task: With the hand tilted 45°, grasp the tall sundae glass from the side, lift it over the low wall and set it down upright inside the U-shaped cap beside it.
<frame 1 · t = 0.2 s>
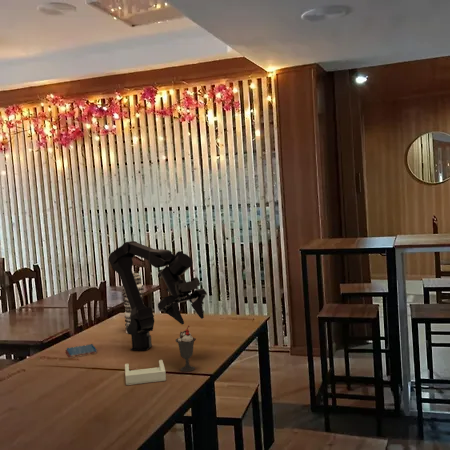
hand: (193, 321, 196), 14 cm above the table, tool tilted 35°, fingers open, 9 cm apart
woven mat: (81, 354, 216), on the table
end cap: (145, 376, 184), on the table
sundae: (187, 369, 189), on the table
decorative candle: (135, 331, 244), on the table
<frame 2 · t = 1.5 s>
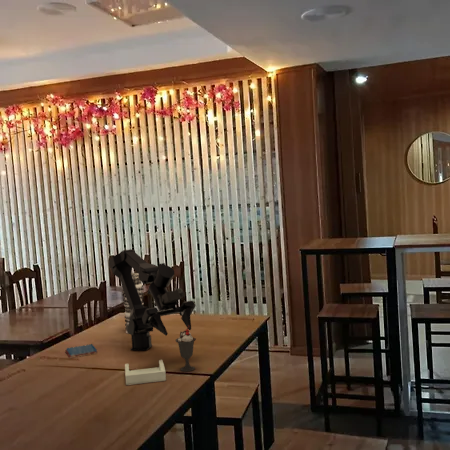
hand: (178, 332, 192), 12 cm above the table, tool tilted 45°, fingers open, 9 cm apart
nothing on the table moved.
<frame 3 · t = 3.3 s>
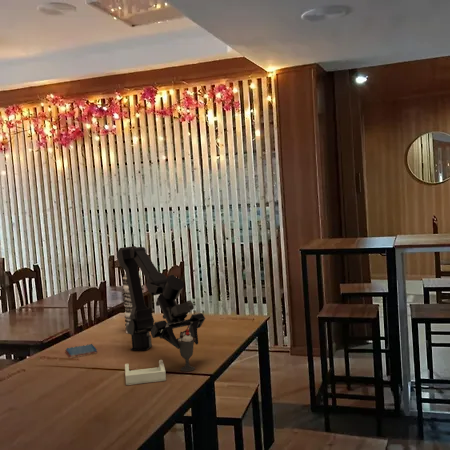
hand: (188, 346, 188), 8 cm above the table, tool tilted 45°, fingers closed on sundae, 7 cm apart
sundae: (187, 369, 189), on the table, touching gripper
everything else where it was.
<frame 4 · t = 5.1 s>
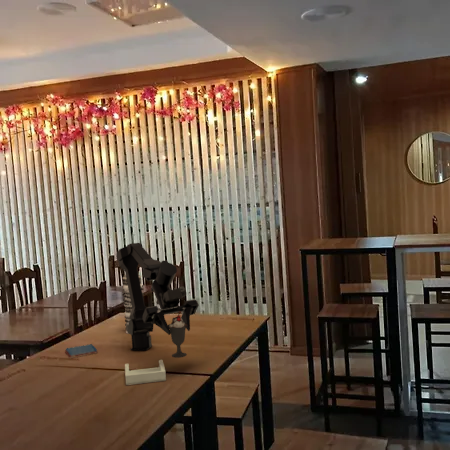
hand: (179, 332, 186), 13 cm above the table, tool tilted 45°, fingers closed on sundae, 7 cm apart
sundae: (179, 356, 188), point 5 cm above the table, touching gripper
everything else where it was.
when the fingers open (10 cm above the table, at t = 7.4 s): sundae drops 1 cm, resting on end cap.
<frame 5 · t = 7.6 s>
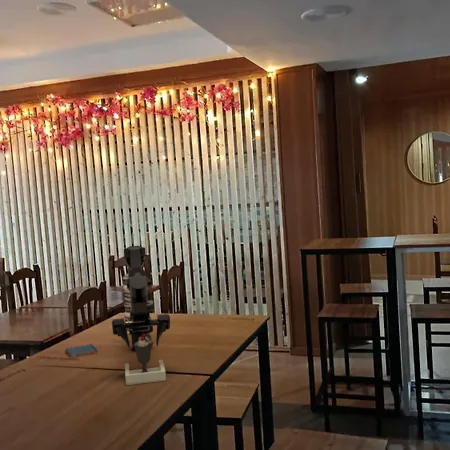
hand: (143, 347, 182), 10 cm above the table, tool tilted 45°, fingers open, 9 cm apart
sundae: (144, 375, 184), resting on end cap
everything else where it was.
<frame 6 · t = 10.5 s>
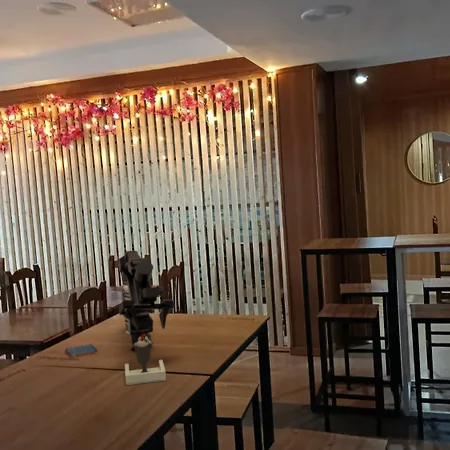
hand: (151, 329, 193), 13 cm above the table, tool tilted 40°, fingers open, 9 cm apart
nothing on the table moved.
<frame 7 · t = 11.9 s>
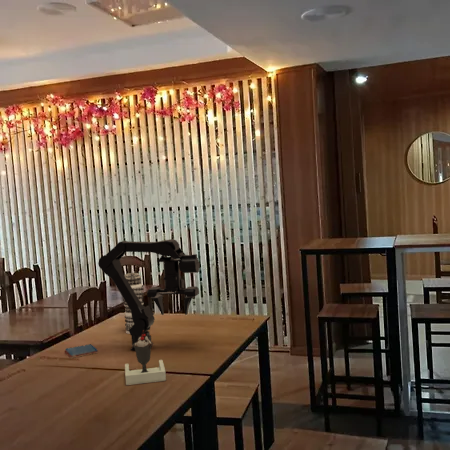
hand: (174, 314, 213), 13 cm above the table, tool pointing down, fingers open, 9 cm apart
nothing on the table moved.
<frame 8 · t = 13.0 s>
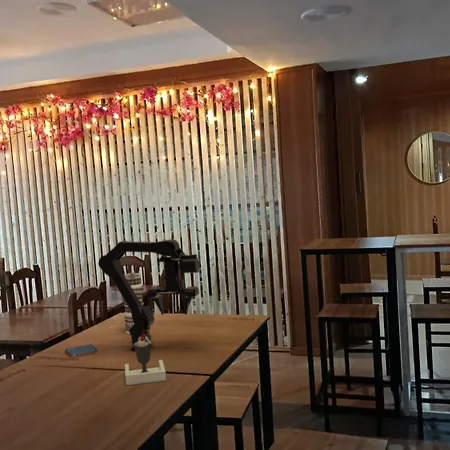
hand: (174, 314, 213), 13 cm above the table, tool pointing down, fingers open, 9 cm apart
nothing on the table moved.
at the end: sundae 0.1 cm off-centre on the end cap, point 0.4 cm above the end cap's base; sundae tilted 0°; the gripper is holding nothing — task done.
